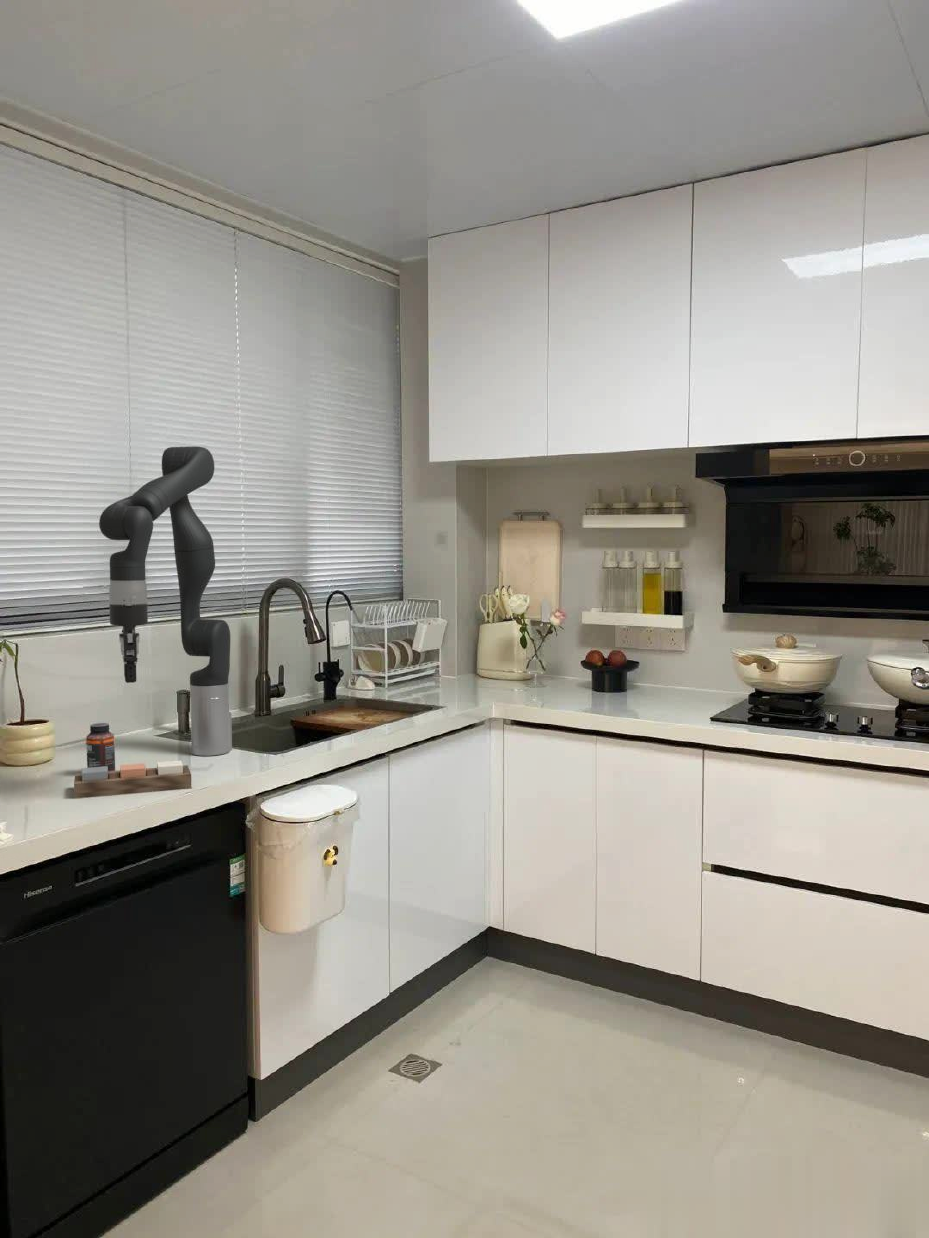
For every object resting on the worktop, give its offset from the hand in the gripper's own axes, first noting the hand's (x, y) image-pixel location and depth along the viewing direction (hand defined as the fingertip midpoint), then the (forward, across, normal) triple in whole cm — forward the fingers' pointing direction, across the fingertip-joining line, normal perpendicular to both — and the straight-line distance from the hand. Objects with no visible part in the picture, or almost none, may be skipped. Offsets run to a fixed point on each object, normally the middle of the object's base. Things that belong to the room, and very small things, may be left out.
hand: (130, 679), depth 199 cm
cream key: (+21, 0, +8) cm, 22 cm away
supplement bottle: (+23, -16, -6) cm, 29 cm away
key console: (+23, 0, 0) cm, 23 cm away
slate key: (+21, 0, -7) cm, 22 cm away
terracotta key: (+21, 0, 0) cm, 21 cm away
